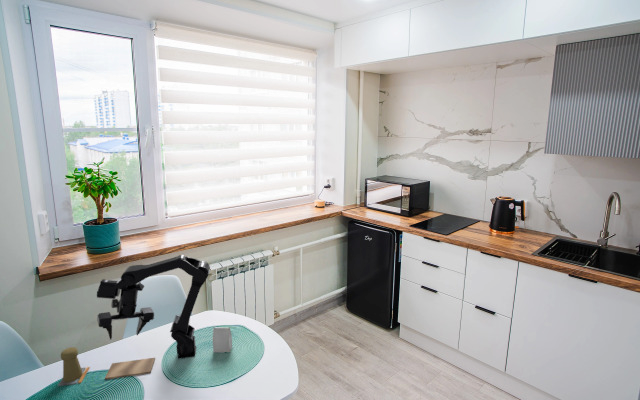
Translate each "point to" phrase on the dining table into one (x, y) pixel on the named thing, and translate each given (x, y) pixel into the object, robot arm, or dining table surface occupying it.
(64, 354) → the cork
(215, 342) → the grey rectangular block
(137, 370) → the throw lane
